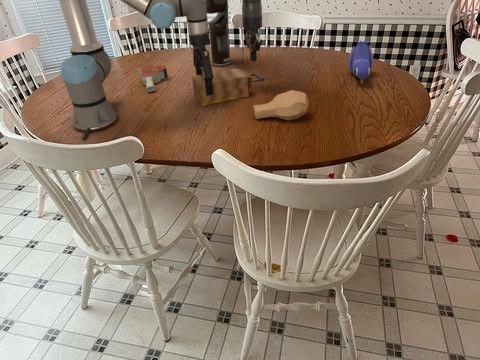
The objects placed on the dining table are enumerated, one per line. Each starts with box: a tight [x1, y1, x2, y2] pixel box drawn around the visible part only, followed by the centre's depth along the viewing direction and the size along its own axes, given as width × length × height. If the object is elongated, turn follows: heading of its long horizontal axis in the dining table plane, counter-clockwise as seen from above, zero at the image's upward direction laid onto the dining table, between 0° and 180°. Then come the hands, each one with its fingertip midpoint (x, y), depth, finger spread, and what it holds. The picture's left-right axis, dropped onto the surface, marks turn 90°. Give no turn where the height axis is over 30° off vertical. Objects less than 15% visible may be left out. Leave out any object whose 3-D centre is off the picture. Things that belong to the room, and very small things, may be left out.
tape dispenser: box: [137, 64, 169, 93], centre depth 162 cm, size 18×5×20 cm
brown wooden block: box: [191, 67, 250, 107], centre depth 145 cm, size 20×11×8 cm, turn 112°
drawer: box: [240, 69, 265, 94], centre depth 146 cm, size 24×10×6 cm, turn 112°
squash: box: [252, 89, 310, 121], centre depth 127 cm, size 11×20×9 cm, turn 92°
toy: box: [347, 40, 374, 85], centre depth 151 cm, size 10×17×25 cm
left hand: (205, 89), depth 143 cm, fingers open, 12 cm apart
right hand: (253, 60), depth 144 cm, fingers closed
